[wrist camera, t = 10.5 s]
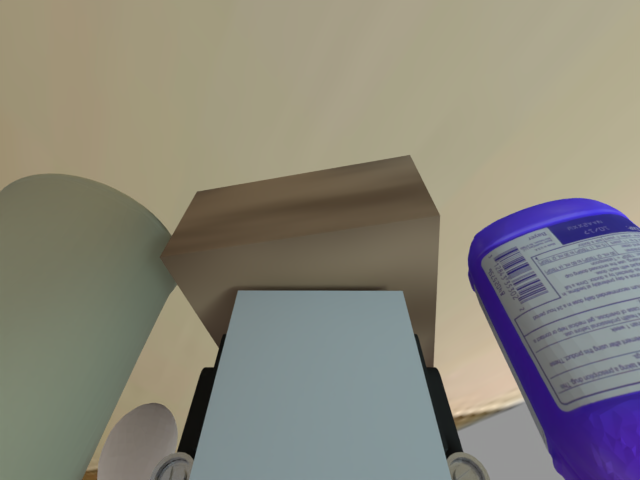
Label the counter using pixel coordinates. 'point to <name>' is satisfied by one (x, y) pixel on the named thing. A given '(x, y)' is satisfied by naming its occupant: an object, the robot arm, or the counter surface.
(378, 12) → the counter surface
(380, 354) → the grey cube
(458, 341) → the counter surface
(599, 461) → the bottle
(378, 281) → the walnut block
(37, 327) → the can
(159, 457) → the egg
